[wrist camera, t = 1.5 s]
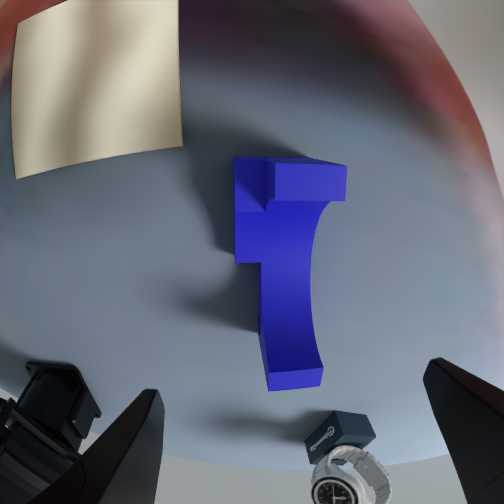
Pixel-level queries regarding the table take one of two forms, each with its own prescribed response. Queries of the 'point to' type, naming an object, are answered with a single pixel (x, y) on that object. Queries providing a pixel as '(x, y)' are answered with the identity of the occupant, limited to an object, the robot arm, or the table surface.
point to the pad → (95, 83)
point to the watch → (338, 453)
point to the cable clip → (284, 255)
